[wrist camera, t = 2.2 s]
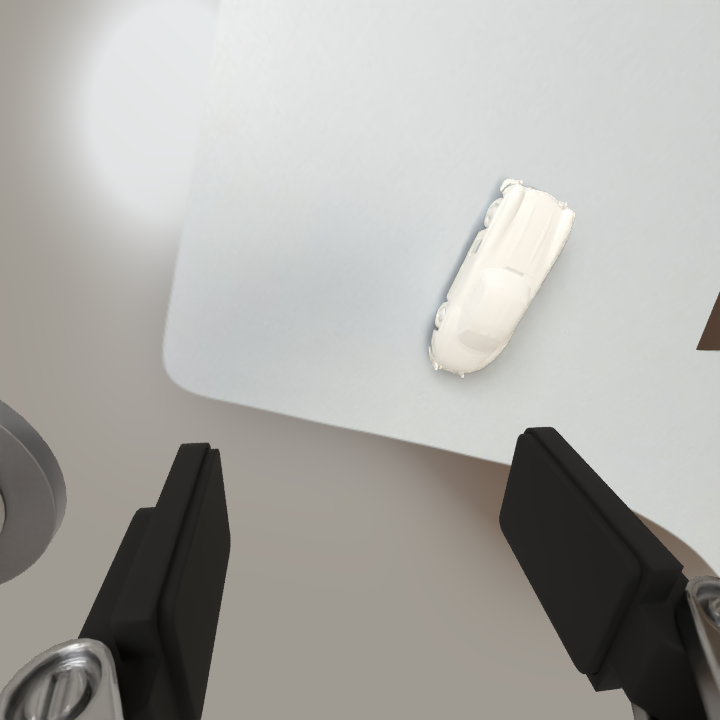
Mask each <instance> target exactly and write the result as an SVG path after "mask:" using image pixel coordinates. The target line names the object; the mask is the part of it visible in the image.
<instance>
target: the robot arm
mask: <svg viewBox="0 0 720 720" xmlns="http://www.w3.org/2000/svg"><path fill="white" fill-rule="evenodd" d="M4 520H5V510H4V502H3V499H2V497H1V494H0V533H1V531H2V529H3V524H4ZM499 522H500V526H501V530H502V532H503V534H504V536H505V538H506V539H507V541H508V543H509V545H510V547H511V549H512V551H513V552H514V554H515V556H516V558H517V560H518V562H519V563H520V565H521V567H522V569H523V571H524V573H525V575H526V576H527V578H528V580H529V582H530V584H531V585H532V587H533V589H534V591H535V593H536V595H537V597H538V599H539V600H540V602H541V604H542V606H543V608H544V610H545V611H546V613H547V615H548V617H549V619H550V621H551V623H552V624H553V626H554V628H555V630H556V632H557V633H558V635H559V637H560V639H561V641H562V643H563V645H564V646H565V649H566V650H567V652H568V654H569V656H570V658H571V660H572V661H573V663H574V665H575V666H576V668H577V669H578V670H579V672H581V673H582V674H586V675H587V677H588V678H589V680H590V682H591V684H592V686H593V687H594V689H595V691H596V692H598V691H605V690H612V689H620V688H621V687H622V689H623V690H624V692H625V694H626V695H627V697H628V699H629V700H630V702H631V705H632V710H633V715H634V720H720V578H718V577H712V576H698V577H695V578H693V579H692V580H690V581H689V580H688V579H687V578H686V577H685V576H684V574H683V573H682V572H681V571H682V569H683V567H684V566H683V565H682V564H681V563H680V562H679V561H678V560H677V559H676V558H675V557H674V556H673V555H672V553H671V552H670V551H668V549H667V548H666V547H665V546H664V545H663V544H662V543H661V542H660V541H659V540H658V539H657V537H656V536H655V535H654V534H653V533H652V532H651V531H650V530H649V529H648V528H647V527H646V526H645V525H644V524H643V523H642V521H641V520H640V519H638V517H637V516H636V515H635V514H634V513H633V512H632V511H631V510H630V509H629V508H628V507H627V505H626V504H625V503H624V502H623V501H622V500H621V499H620V498H619V497H618V496H617V495H616V494H615V493H614V492H613V490H612V489H611V488H610V487H609V486H608V485H607V484H606V483H605V482H604V481H603V480H602V479H601V478H600V477H599V476H598V474H597V473H596V472H595V471H594V470H593V469H592V468H591V467H590V466H589V465H588V464H587V463H586V462H585V461H584V460H583V458H582V457H581V456H580V455H579V454H578V453H577V452H576V451H575V450H574V449H573V448H572V447H571V446H570V445H569V444H568V442H567V441H566V440H565V439H564V438H563V437H562V436H561V435H560V434H559V433H558V432H557V431H556V430H555V429H554V428H553V427H535V428H527V429H526V430H525V432H524V434H521V435H519V437H518V439H517V443H516V448H515V452H514V456H513V460H512V465H511V469H510V473H509V478H508V482H507V486H506V490H505V494H504V499H503V503H502V507H501V511H500V516H499ZM229 554H230V530H229V522H228V514H227V506H226V499H225V491H224V483H223V475H222V467H221V459H220V452H219V449H211V447H210V444H209V443H190V444H189V443H188V444H182V445H181V446H180V448H179V450H178V453H177V455H176V458H175V460H174V462H173V465H172V467H171V470H170V472H169V475H168V477H167V480H166V482H165V485H164V487H163V490H162V492H161V495H160V497H159V500H158V502H157V504H156V507H150V508H140V509H139V510H138V511H136V513H135V515H134V517H133V518H132V521H131V523H130V525H129V527H128V530H127V532H126V534H125V536H124V538H123V541H122V543H121V545H120V547H119V549H118V551H117V554H116V556H115V558H114V561H113V562H112V565H111V567H110V569H109V571H108V573H107V576H106V578H105V580H104V582H103V584H102V587H101V589H100V591H99V593H98V595H97V597H96V600H95V602H94V604H93V606H92V609H91V611H90V613H89V615H88V617H87V620H86V622H85V624H84V626H83V628H82V630H81V633H80V635H79V637H78V639H74V640H73V639H72V640H69V641H66V642H63V643H60V644H58V645H55V646H53V647H51V648H49V649H47V650H46V651H44V652H42V653H40V654H39V655H37V656H35V657H34V658H33V659H32V660H31V661H29V662H28V663H27V664H26V665H25V666H23V667H22V668H21V669H20V670H19V671H18V672H17V673H16V674H15V675H14V677H13V678H12V679H11V680H10V681H9V682H8V684H7V685H6V686H5V687H4V688H3V690H2V692H1V694H0V720H201V716H202V711H203V705H204V699H205V693H206V688H207V682H208V676H209V670H210V664H211V658H212V653H213V647H214V641H215V635H216V629H217V623H218V618H219V612H220V606H221V601H222V595H223V589H224V583H225V577H226V571H227V566H228V560H229Z"/></svg>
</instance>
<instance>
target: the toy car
mask: <svg viewBox="0 0 720 720" xmlns="http://www.w3.org/2000/svg"><path fill="white" fill-rule="evenodd" d="M522 183H523V181H522V180H520V181H518V180H513V179H507V180H505V181H504V182H503V184H502V186H501V188H500V191H502V190H503V189H504V188H505V186H506V185H508V184H511V186H508V187H507V188H506V189H505V190H504V191H503V193H502V194H503V197H504V198H503V199H502V198H499V199H497V200H495V201H494V202H493V203H492V205H491V206H490V207H489V209H488V211H487V213H486V216H485V220H484V225H485V227H487V228H486V229H485V230H482V231H479V232H478V234H477V236H476V238H475V240H474V242H473V244H472V246H471V248H470V250H469V252H468V254H467V256H466V258H465V260H464V262H463V264H462V266H461V268H460V270H459V272H458V274H457V276H456V278H455V280H454V282H453V284H452V286H451V288H450V290H449V292H448V294H447V299H448V302H445V303H443V304H442V305H441V306H440V308H439V310H438V312H437V315H436V318H435V324H436V327H438V328H439V329H438V331H437V330H434V331H433V335H432V341H431V348H430V346H429V356H430V359H431V361H432V362H433V366H434V367H435V369H436V370H437V369H438V367H439V369H441V368H442V369H444V370H447V371H450V372H454V373H455V374H457V373H458V374H459V375H460V376H461V378H462V379H463V378H464V374H465V373H469V372H474V371H478V370H480V369H482V368H484V367H485V366H487V365H488V364H489V363H491V362H492V361H493V360H494V359H495V358H496V357H497V356H498V355H499V354H500V353H501V352H502V350H503V349H504V348H505V346H506V345H507V343H508V342H509V340H510V338H511V337H512V335H513V332H514V330H515V327H516V326H517V324H518V323H519V321H520V320H521V318H522V316H523V315H524V313H525V312H526V310H527V308H528V307H529V305H530V303H531V302H532V300H533V298H534V297H535V295H536V293H537V292H538V290H539V288H540V286H541V285H542V283H543V281H544V280H545V278H546V276H547V274H548V273H549V271H550V269H551V268H552V266H553V264H554V262H555V261H556V259H557V257H558V256H559V254H560V252H561V251H562V249H563V247H564V245H565V243H566V241H567V239H568V237H569V234H570V232H571V229H572V226H573V223H574V219H575V212H574V211H571V210H570V209H569V208H568V207H567V203H562V202H559V203H558V202H557V201H556V199H555V198H554V197H552V196H551V195H550V194H548V193H546V192H542V191H538V190H535V189H531V187H529V188H525V187H523V186H521V185H522ZM478 279H479V280H478ZM475 284H476V285H475ZM464 306H465V307H466V308H467V309H466V308H465V307H464ZM462 333H463V334H462ZM431 349H432V353H431ZM433 357H434V358H433Z"/></svg>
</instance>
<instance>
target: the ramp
mask: <svg viewBox="0 0 720 720" xmlns="http://www.w3.org/2000/svg"><path fill="white" fill-rule="evenodd" d="M696 350H720V292H719V295H718V297H717V300H716V302H715V305H714V307H713V310H712V312H711V314H710V317H709V319H708V322H707V324H706V327H705V329H704V332H703V334H702V336H701V339H700V341H699V344H698V346H697V349H696Z"/></svg>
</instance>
